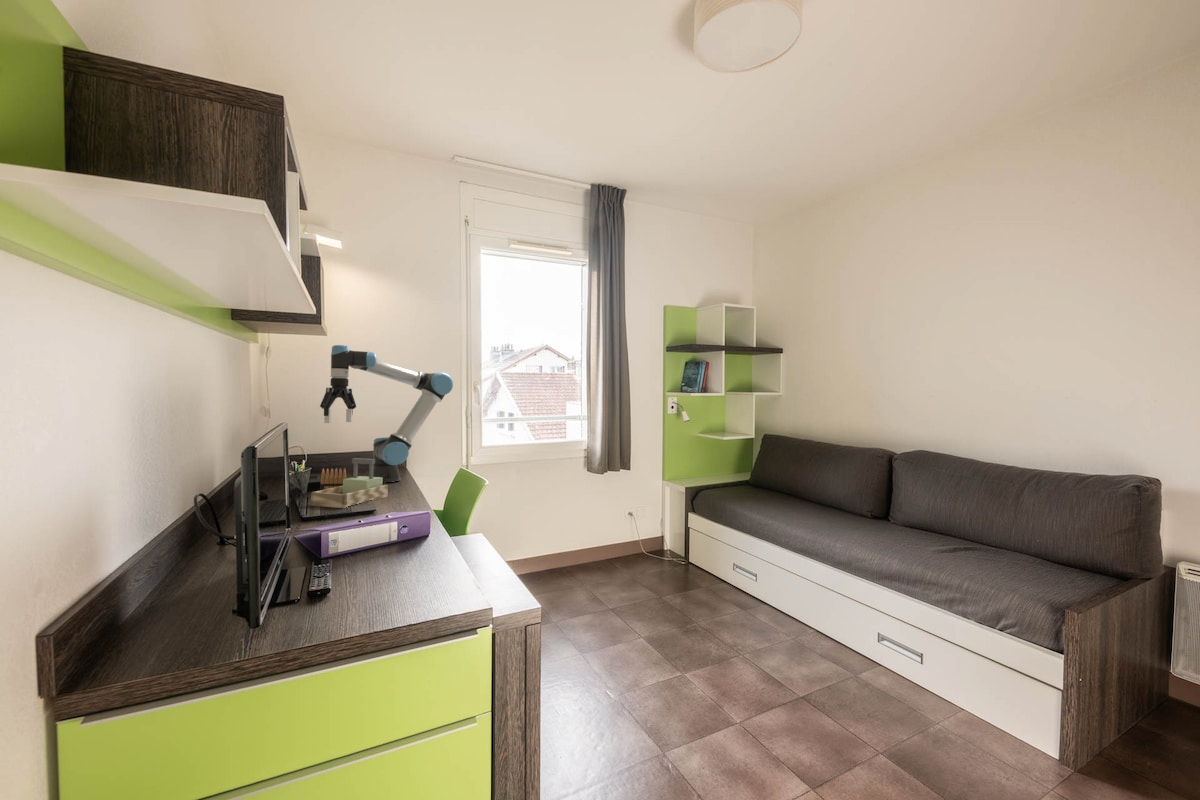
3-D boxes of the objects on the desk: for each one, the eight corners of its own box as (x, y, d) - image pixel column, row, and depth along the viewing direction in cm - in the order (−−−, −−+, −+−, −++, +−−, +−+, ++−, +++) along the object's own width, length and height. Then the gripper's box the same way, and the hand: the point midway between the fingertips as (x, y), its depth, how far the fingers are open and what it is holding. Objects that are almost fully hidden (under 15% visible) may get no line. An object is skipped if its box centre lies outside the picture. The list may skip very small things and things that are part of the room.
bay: (356, 494, 223) (357, 482, 223) (387, 496, 219) (387, 484, 219) (310, 505, 197) (310, 492, 197) (344, 508, 194) (344, 495, 194)
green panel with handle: (359, 491, 221) (360, 457, 221) (382, 493, 218) (383, 458, 218) (342, 495, 211) (343, 459, 212) (366, 497, 209) (367, 460, 209)
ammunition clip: (346, 494, 223) (347, 467, 223) (345, 494, 221) (346, 468, 221) (320, 494, 221) (321, 467, 221) (319, 495, 219) (320, 468, 219)
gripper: (325, 376, 221) (324, 423, 221) (364, 379, 245) (363, 422, 245) (311, 376, 223) (310, 423, 222) (351, 379, 247) (350, 421, 247)
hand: (338, 422), depth 234 cm, fingers open, 13 cm apart
